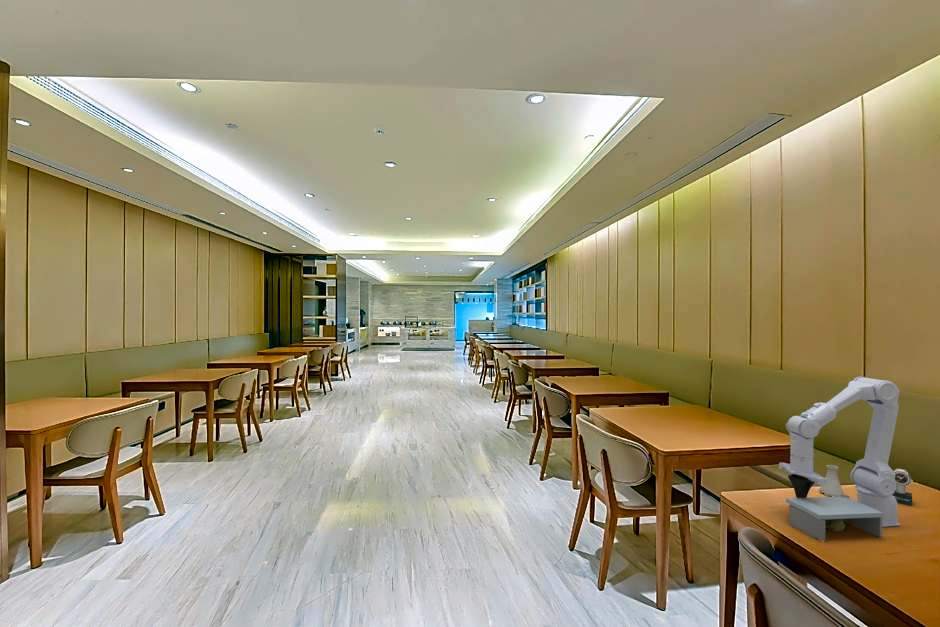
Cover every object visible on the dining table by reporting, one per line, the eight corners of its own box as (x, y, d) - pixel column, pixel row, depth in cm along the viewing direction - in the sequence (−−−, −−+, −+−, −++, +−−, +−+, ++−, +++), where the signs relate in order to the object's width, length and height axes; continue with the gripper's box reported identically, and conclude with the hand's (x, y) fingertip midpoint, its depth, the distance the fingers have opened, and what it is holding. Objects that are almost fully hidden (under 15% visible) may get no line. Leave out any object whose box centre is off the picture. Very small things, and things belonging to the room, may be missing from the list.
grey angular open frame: (844, 520, 139) (844, 501, 139) (882, 537, 128) (882, 516, 128) (789, 524, 136) (789, 504, 136) (822, 542, 125) (823, 521, 125)
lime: (821, 526, 135) (821, 509, 135) (841, 529, 133) (841, 512, 133) (826, 533, 131) (826, 515, 131) (847, 536, 129) (847, 518, 129)
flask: (849, 499, 155) (850, 470, 155) (826, 497, 157) (826, 468, 157) (837, 491, 163) (837, 463, 163) (814, 489, 164) (815, 462, 164)
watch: (889, 502, 153) (889, 470, 153) (890, 496, 159) (890, 465, 159) (912, 507, 149) (912, 474, 149) (912, 501, 155) (912, 469, 155)
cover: (844, 498, 140) (844, 494, 140) (886, 516, 128) (886, 512, 128) (783, 500, 138) (783, 496, 138) (819, 519, 125) (819, 514, 125)
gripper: (770, 449, 145) (770, 491, 145) (812, 464, 131) (811, 511, 131) (789, 448, 146) (789, 490, 146) (832, 463, 132) (832, 509, 132)
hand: (801, 500), depth 138 cm, fingers closed
